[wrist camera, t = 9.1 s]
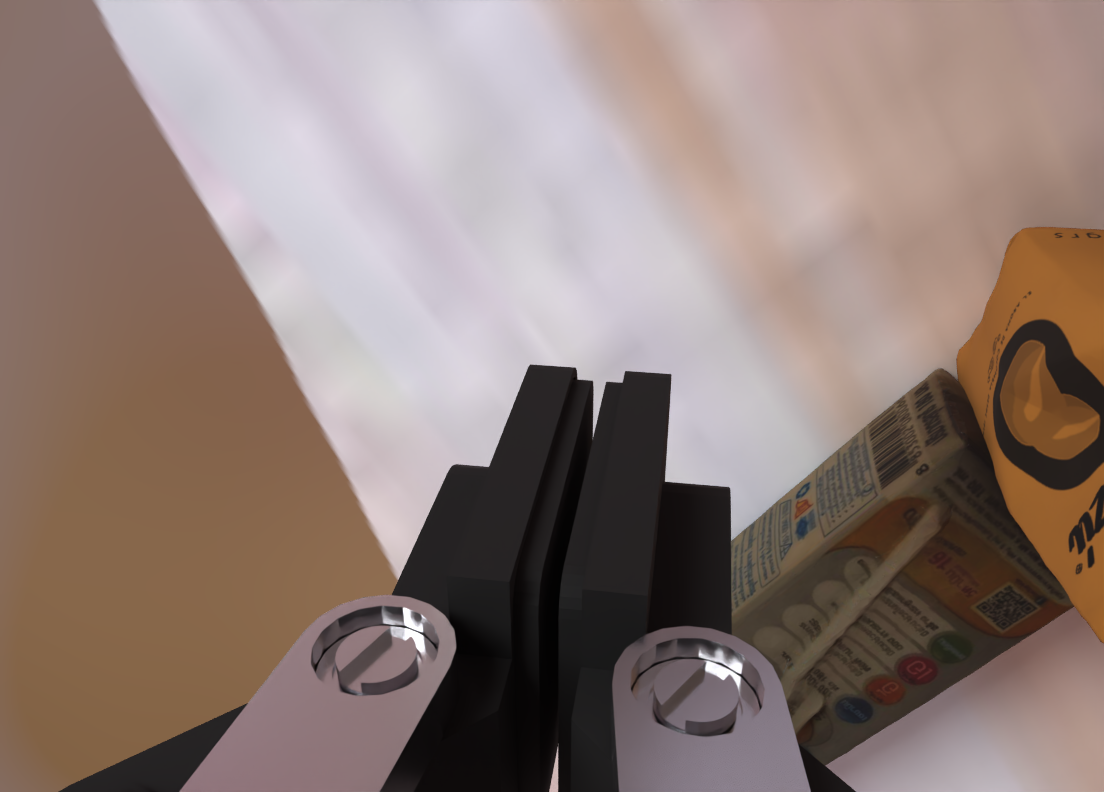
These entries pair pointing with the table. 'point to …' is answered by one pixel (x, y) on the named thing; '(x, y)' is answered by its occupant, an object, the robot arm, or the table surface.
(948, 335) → the table surface
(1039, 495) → the coffee package
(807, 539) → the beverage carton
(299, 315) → the table surface
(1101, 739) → the table surface
